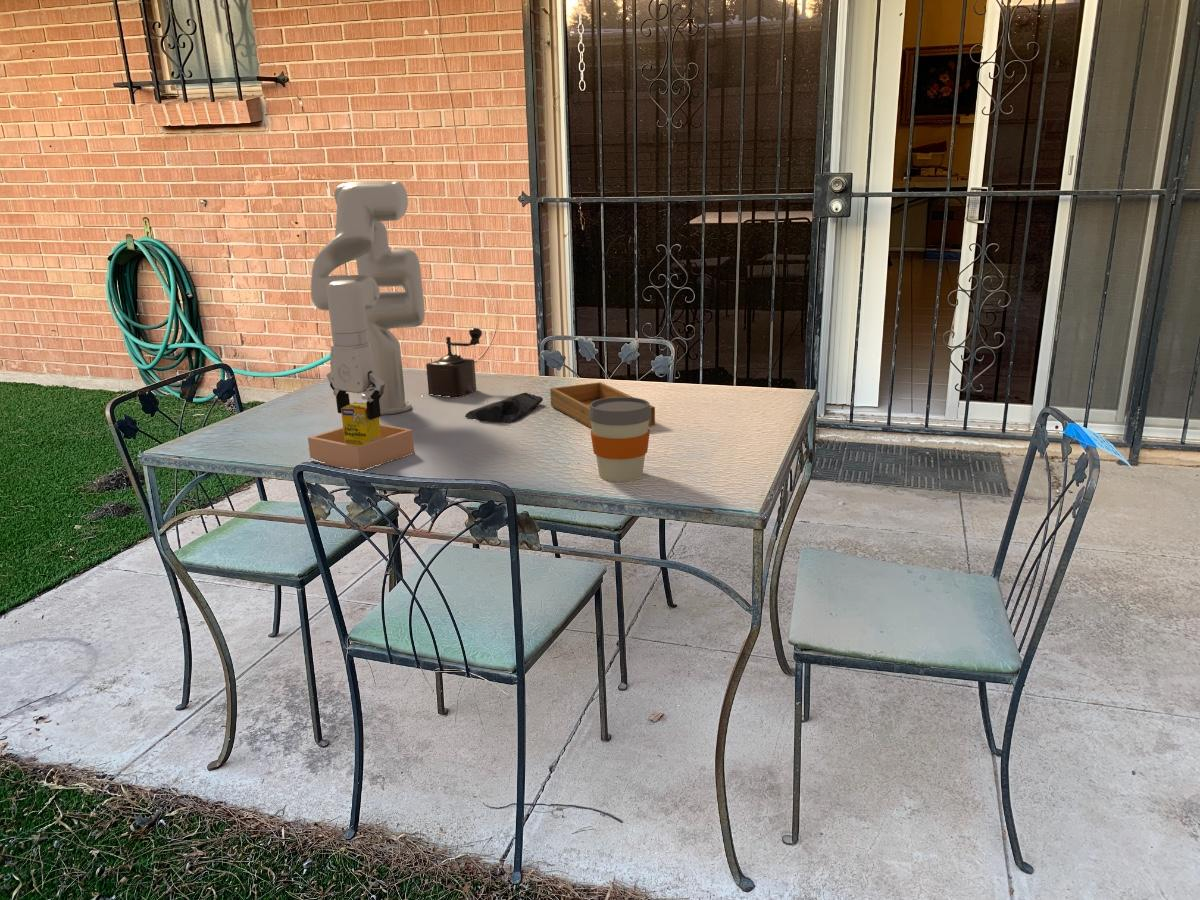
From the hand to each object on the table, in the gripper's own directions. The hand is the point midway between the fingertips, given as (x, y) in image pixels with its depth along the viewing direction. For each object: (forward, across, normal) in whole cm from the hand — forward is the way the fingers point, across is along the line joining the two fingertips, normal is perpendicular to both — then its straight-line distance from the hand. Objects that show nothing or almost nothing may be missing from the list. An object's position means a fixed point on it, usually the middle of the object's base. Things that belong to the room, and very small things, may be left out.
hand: (359, 414), depth 194 cm
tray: (+11, +28, +55) cm, 63 cm away
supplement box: (+9, +1, 0) cm, 9 cm away
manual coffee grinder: (+12, -25, +59) cm, 65 cm away
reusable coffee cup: (+9, +58, +17) cm, 61 cm away
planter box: (+10, +1, -1) cm, 10 cm away
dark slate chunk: (+11, +3, +47) cm, 49 cm away
